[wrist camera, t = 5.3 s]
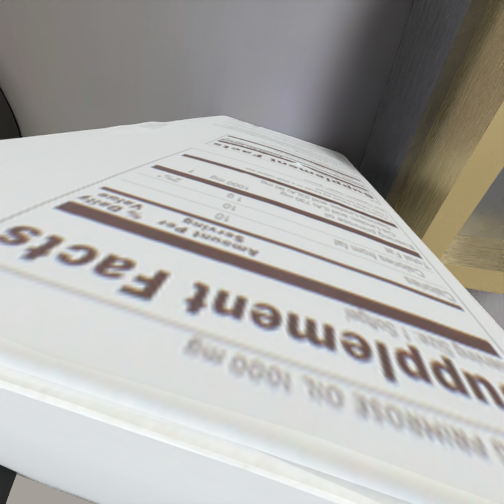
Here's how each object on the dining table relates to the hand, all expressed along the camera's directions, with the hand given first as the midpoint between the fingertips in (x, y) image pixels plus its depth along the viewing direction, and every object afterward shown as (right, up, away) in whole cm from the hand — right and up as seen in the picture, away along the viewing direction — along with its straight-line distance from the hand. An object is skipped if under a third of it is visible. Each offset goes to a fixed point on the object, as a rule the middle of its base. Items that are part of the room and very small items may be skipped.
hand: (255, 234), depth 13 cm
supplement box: (+1, +4, +5) cm, 6 cm away
